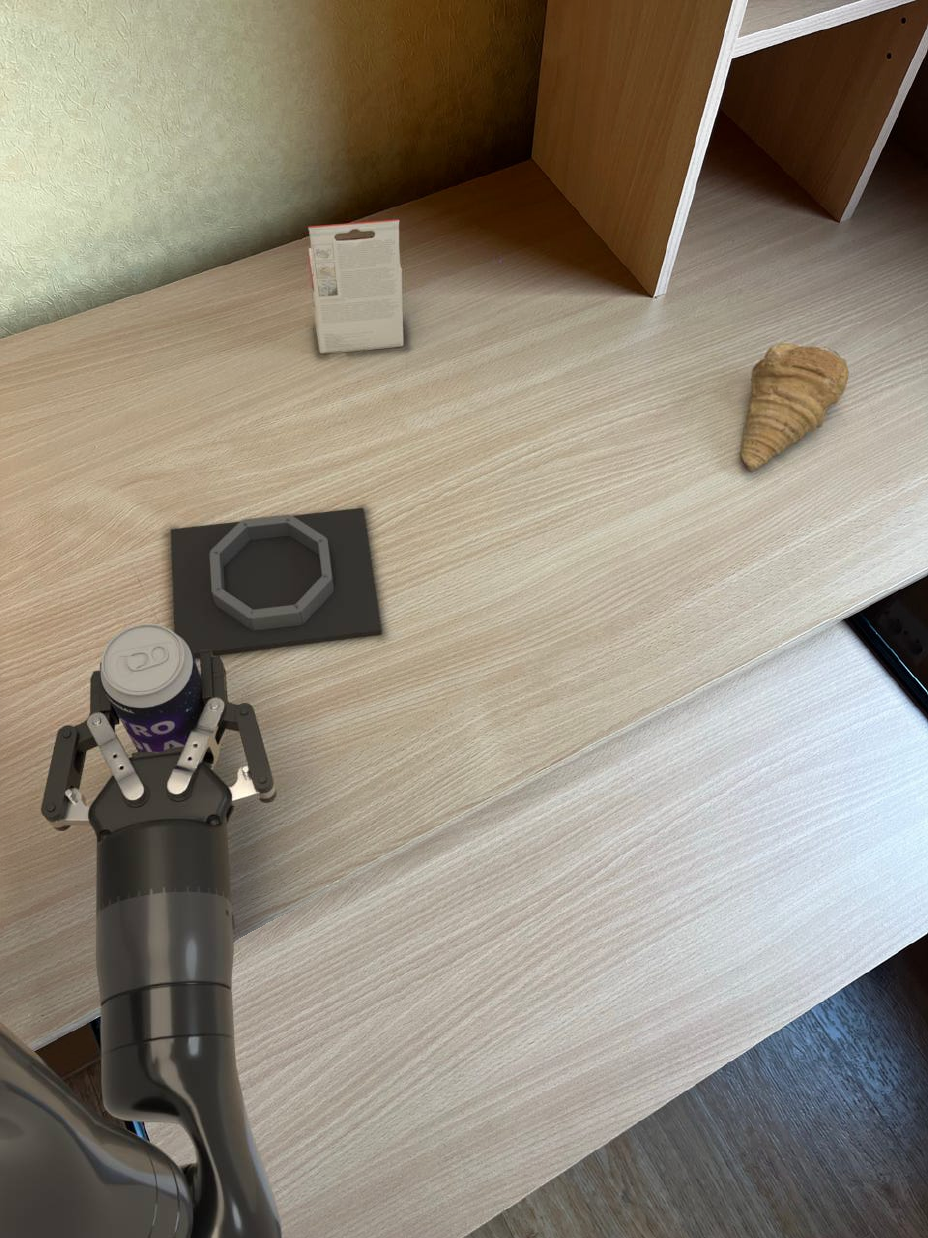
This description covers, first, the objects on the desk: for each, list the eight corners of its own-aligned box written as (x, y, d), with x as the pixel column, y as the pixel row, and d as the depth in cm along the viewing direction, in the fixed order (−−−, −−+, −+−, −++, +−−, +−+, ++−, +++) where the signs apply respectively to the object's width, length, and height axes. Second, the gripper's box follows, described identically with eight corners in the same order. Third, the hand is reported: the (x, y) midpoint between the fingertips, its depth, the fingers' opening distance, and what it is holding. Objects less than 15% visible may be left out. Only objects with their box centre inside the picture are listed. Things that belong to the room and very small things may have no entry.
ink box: (316, 328, 100) (301, 198, 88) (399, 321, 101) (396, 191, 89) (319, 357, 99) (305, 228, 86) (404, 349, 99) (402, 221, 87)
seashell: (743, 491, 98) (827, 498, 93) (710, 450, 92) (800, 456, 87) (783, 360, 100) (868, 360, 96) (754, 311, 94) (844, 309, 89)
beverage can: (129, 719, 74) (84, 635, 64) (208, 691, 76) (176, 605, 65) (150, 789, 72) (107, 714, 62) (231, 760, 73) (202, 681, 63)
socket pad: (177, 660, 82) (169, 643, 80) (172, 534, 88) (165, 514, 86) (381, 634, 84) (380, 617, 82) (363, 512, 90) (362, 492, 88)
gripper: (284, 879, 58) (262, 618, 67) (14, 920, 57) (26, 646, 65) (296, 915, 65) (275, 672, 73) (55, 952, 63) (61, 699, 71)
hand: (158, 661), depth 69 cm, fingers closed on beverage can, 5 cm apart
